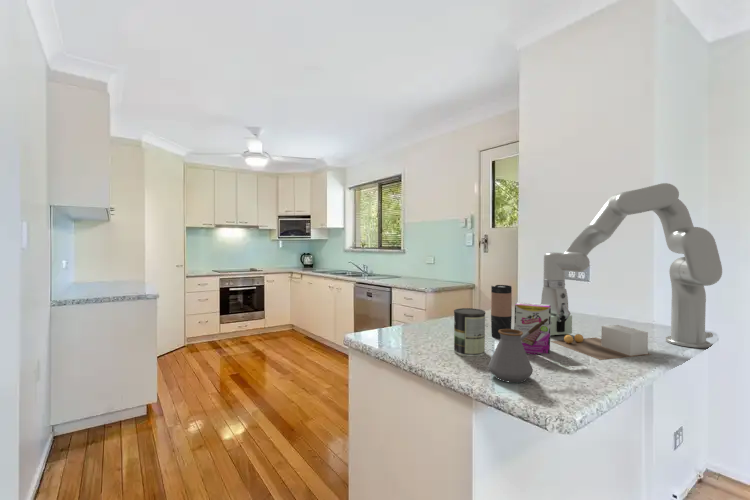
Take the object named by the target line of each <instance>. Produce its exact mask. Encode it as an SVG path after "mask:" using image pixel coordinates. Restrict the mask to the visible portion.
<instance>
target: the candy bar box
mask: <svg viewBox="0 0 750 500" xmlns="http://www.w3.org/2000/svg"><path fill="white" fill-rule="evenodd" d="M547 318H548V321H547V322H546V323H547V324H546V323H545V324H544V325H542V326H541V327H540V328H539V329H537V330H536V331H534V332H533V333H531V334H530V335H528V336H527V337H525V338H524V339H523V340H522V341H521V343H522V345H523V347H524V350H525V352H526V354H528V355H535V356H544V355H543V354H547V355H549V354H550V351H551V342H550V341H551V335H550V325H548V324H551V322H550V321H551V305H545V304H541V303H530V302H529V303H528V302H518V301H517V302H515V303H514V323H513V324H514V327H513V329H515V330H519V331H522V332H523V335H524V334H526V333H527V332H528V331H529V330H530V329H532V328H533V327H534V326H535V325H537V324H539V323H540V322H541V321H544V319H547ZM549 320H550V321H549ZM523 335H521V336H523Z"/></svg>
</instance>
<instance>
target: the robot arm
mask: <svg viewBox="0 0 750 500" xmlns="http://www.w3.org/2000/svg"><path fill="white" fill-rule="evenodd" d="M679 191H680V190H679V189H678V188H677V187H676V186H675V185H674V184H671V183H667V182H663V183H662V182H661V183H658V184H654V185H651V186H646V187H641V188H637V189H633V190H627V191H622V192H620V193H619V192H618V193H616V194H613V195H612V196H610V197H609V198H608V199H606V202H605V203H604V204H603V206H601V208H600V210H599V211H598V212H597V213H596V215H595V216H594V218H592V220H591V221H590V222H589V224H588V225H587V226H586V227H585V228H584V229H583V230H582V231H581V233H580V234H579V235H578V236H577V237H576V238H574V240H573V241H572V242H571V243H570V245H569V246H568V247H567V249H566V250H565V251H564V253H563V252H546V253H544V255H543V287H542V290H541V291H542V292H541V302H540V304H545V305H551V313H553V314H556V316H557V319H558V321H557V332H564V331H565V322H566V320H567V319H568V317H569V315H572V314H571V311H570V310H569V297H568V293H567V289H566V272H574V273H582V272H584V271H586V270H587V269H588V268H589V267H590V263H591V262H590V259H589V257H588V255H589V254H590V253H591V251H593V249H595V248H596V247H597V246H599V245H600V244H602V243H604V242H606V241H607V240H608V239H610V237H612V236H613V234H614V232H616V231H617V229H618V228H619V227H620V225H621V224H622V222H623V221H624V220H625V219H626V217H627V216H631V215H636V214H641V213H646V212H653V213H655V214H656V216H657V217H658V218H659V221H660V222H661V226H662V229H663V233H664V239H665V241H666V245H667V248H668V249H669V250H670V251H671V252H672V253H675V254H681V255H683V256H682V257H678V258H677V259H674V261H672V262H671V264H670V266H669V270H668V272H669V278H670V283H671V309H670V310H671V313H670V314H671V316H670V317H671V318H670V326H671V327H670V335H669V336H668V335H667V336H666V337H665V341H666V342H667V343H669V344H672V345H676V346H682V347H688V348H696V349H697V348H698V349H706V348H707V349H708V348H710V347H711V346H712V343H711V342H710V341H708V340H707V339H709V338H713V337H714V333H713V332H711V331H709V332H707V331H706V309H707V308H706V307H707V306H706V304H707V303H706V301H707V294H706V289H705V286H706V287H708V286H712V285H713V286H714V285H715V284H717V283H718V282H719V281H720V280H721V278H722V275H723V266H722V265H723V264H722V261H721V257H720V253H719V250H718V246H717V243H716V242H717V241H716V239H715V238H714V236H713V234H712V233H711V232H710V231H709V230H708V229H706V228H704V227H698V226H694V223H693V221H692V220H693V219H692V218H691V214H690V212H689V209H688V207H687V205H685V204H684V202H683V201H682V200H680V199H679V197H680V196H679V195H680V192H679ZM560 315H561V316H562V317H560Z"/></svg>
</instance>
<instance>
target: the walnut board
mask: <svg viewBox="0 0 750 500" xmlns="http://www.w3.org/2000/svg"><path fill="white" fill-rule="evenodd" d="M583 338H584V340H583V341H582V342H580V343H578V342H576V341H575V340H574V338H573V342H572V343H566V342H565V341H564V339H562V340H550V343H553V344H556V345H559V346H561V347H563V348H567V349H570V350H572V351H575V352H578V353H580V354H583V355H585V356H589V357H591V358H593V359H597V360H599V361H604V360H614V359H615V360H617V359H622V358H623V359H624V358H633V357H642V356H652V355H653V354H652V353H648V354H642V355H632V356H630V355H627V354H624V353H621V352H618V351H615V350H612V349H608V348H605V347H602V346H601V338H599V337H588V338H587V337H586V338H585V337H583Z"/></svg>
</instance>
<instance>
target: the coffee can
mask: <svg viewBox="0 0 750 500" xmlns="http://www.w3.org/2000/svg"><path fill="white" fill-rule="evenodd" d="M453 314H454V317H453V318H454V319H453V326H454V327H453V330H454V331H453V332H454V333H453V337H454V338H453V353H455V354H456V355H459V356H463V357H468V358H476V357H482V356H484V355H486V350H485V348H486V346H485V345H486V343H485V342H486V341H485V340H486V339H485V338H486V328H485V327H486V311H485V310H483V309H478V308H473V307H472V308H468V307H467V308H466V307H463V308H456V309H454V310H453Z"/></svg>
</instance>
